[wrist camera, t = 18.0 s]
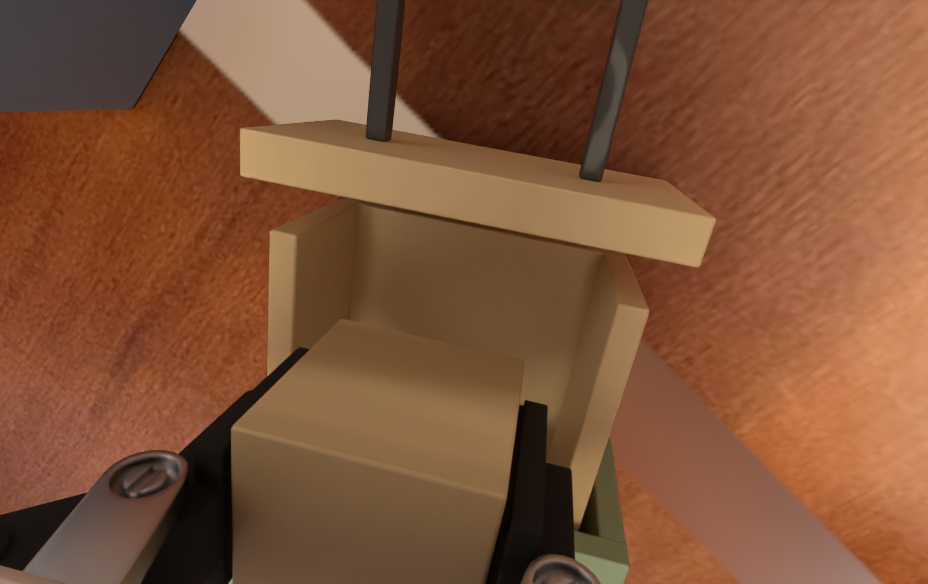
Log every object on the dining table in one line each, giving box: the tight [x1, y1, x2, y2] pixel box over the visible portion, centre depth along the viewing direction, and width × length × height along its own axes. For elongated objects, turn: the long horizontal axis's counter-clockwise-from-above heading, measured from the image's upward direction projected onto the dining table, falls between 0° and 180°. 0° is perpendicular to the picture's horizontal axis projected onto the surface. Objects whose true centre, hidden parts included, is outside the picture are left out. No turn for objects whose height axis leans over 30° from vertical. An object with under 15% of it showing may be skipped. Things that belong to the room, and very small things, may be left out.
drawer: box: [240, 0, 716, 531], centre depth 16 cm, size 20×11×6 cm, turn 171°
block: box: [231, 319, 525, 584], centre depth 11 cm, size 4×4×4 cm
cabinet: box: [229, 435, 630, 584], centre depth 21 cm, size 15×13×8 cm
